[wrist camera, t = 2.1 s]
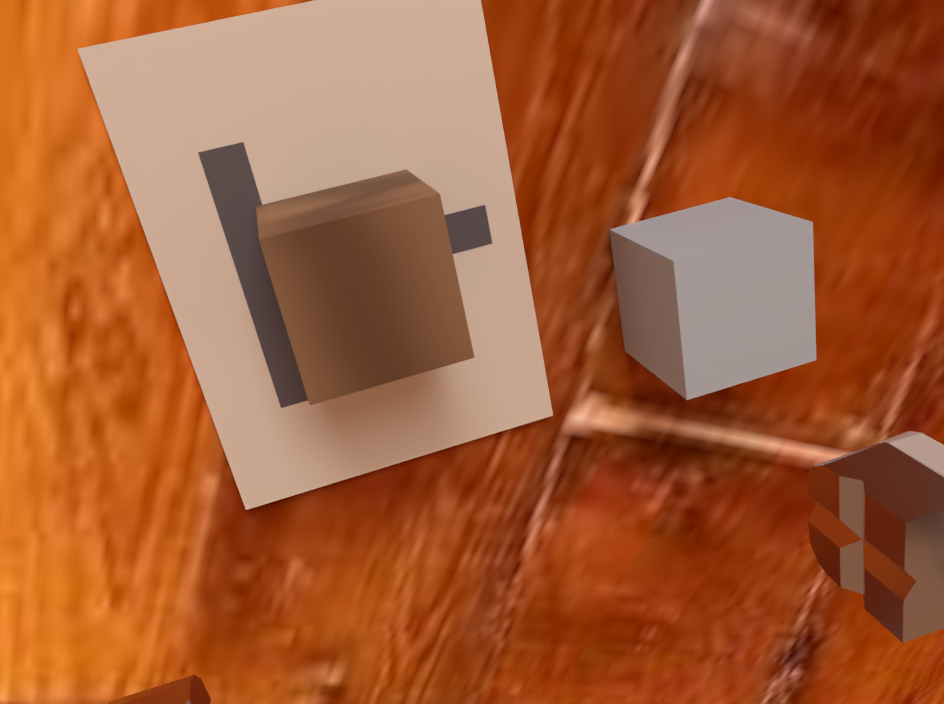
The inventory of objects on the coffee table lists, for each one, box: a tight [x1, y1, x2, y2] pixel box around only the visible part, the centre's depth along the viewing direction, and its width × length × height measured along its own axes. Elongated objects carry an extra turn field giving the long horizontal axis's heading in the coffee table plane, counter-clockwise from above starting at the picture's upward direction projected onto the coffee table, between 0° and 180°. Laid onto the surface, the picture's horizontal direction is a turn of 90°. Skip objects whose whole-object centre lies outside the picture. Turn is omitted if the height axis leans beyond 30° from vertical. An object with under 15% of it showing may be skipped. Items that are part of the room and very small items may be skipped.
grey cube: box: [610, 197, 816, 400], centre depth 29 cm, size 5×5×5 cm
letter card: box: [78, 0, 553, 510], centre depth 27 cm, size 12×16×1 cm
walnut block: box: [256, 169, 474, 405], centre depth 25 cm, size 5×5×5 cm
